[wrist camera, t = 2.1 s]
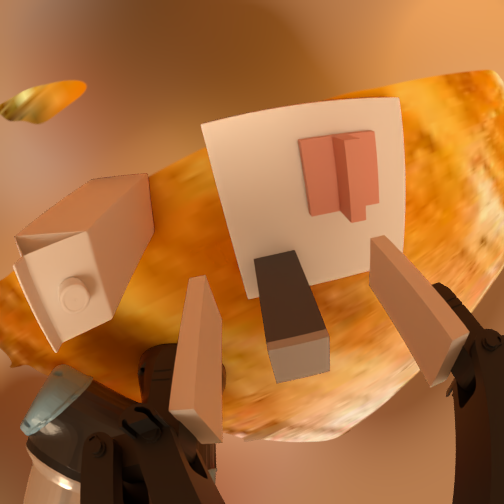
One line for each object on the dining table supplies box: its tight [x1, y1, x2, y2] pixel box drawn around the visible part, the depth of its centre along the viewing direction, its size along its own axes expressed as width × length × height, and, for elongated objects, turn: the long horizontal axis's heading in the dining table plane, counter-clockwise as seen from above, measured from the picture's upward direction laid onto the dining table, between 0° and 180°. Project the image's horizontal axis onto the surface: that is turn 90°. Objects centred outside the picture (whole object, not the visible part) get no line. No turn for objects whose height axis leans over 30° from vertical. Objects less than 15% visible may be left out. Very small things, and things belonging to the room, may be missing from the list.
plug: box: [254, 250, 330, 383], centre depth 26 cm, size 4×4×13 cm
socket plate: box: [201, 97, 405, 299], centre depth 29 cm, size 20×20×4 cm
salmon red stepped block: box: [298, 130, 379, 223], centre depth 24 cm, size 8×8×4 cm
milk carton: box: [13, 173, 154, 353], centre depth 21 cm, size 7×7×19 cm
